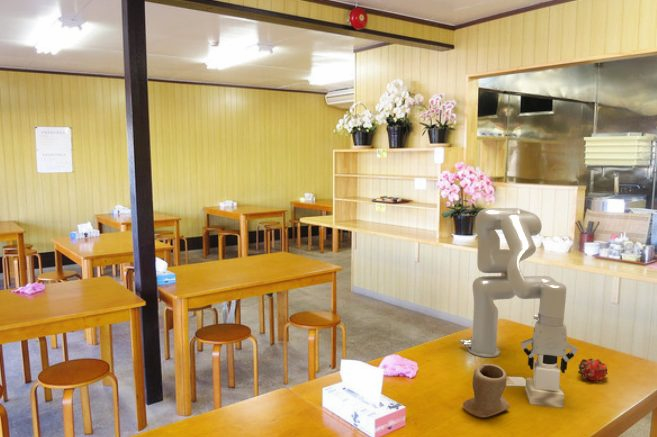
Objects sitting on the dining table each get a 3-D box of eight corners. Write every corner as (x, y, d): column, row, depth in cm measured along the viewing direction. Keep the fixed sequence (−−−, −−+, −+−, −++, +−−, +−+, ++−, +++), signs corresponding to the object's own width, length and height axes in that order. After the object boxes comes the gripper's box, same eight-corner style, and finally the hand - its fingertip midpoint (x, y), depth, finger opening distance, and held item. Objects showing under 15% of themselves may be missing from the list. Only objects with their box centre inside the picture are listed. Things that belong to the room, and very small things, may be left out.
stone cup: (485, 426, 149) (488, 378, 147) (457, 408, 159) (459, 363, 157) (520, 414, 156) (523, 368, 154) (491, 397, 167) (494, 354, 165)
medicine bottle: (556, 382, 168) (558, 348, 166) (558, 392, 161) (560, 356, 160) (533, 379, 170) (534, 345, 168) (535, 389, 163) (536, 354, 162)
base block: (529, 405, 163) (531, 390, 162) (525, 391, 172) (526, 377, 172) (563, 409, 160) (564, 394, 160) (556, 394, 170) (557, 380, 170)
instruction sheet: (500, 385, 176) (500, 384, 176) (495, 376, 182) (495, 375, 182) (529, 386, 175) (529, 385, 175) (523, 377, 182) (523, 377, 182)
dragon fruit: (575, 384, 181) (601, 385, 184) (592, 379, 174) (619, 380, 177) (568, 360, 185) (594, 362, 189) (585, 354, 178) (612, 356, 182)
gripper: (524, 321, 161) (520, 371, 163) (582, 326, 157) (577, 377, 160) (521, 313, 168) (517, 362, 171) (576, 318, 164) (572, 368, 167)
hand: (546, 369), depth 165 cm, fingers open, 9 cm apart
